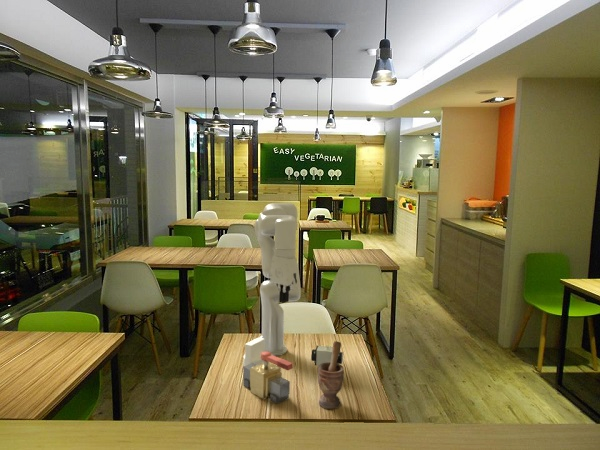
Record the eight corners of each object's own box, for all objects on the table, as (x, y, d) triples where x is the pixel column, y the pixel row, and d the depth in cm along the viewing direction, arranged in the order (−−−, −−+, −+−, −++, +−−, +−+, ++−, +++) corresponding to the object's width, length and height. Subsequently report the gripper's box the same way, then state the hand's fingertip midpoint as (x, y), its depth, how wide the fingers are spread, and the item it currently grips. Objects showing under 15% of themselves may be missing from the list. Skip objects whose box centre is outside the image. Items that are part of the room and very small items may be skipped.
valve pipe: (239, 385, 166) (239, 353, 165) (256, 378, 172) (256, 347, 170) (275, 406, 152) (276, 371, 150) (292, 398, 158) (293, 364, 156)
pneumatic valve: (341, 380, 172) (342, 349, 170) (310, 376, 174) (311, 346, 173) (342, 373, 177) (343, 344, 176) (313, 370, 180) (313, 341, 178)
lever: (258, 358, 160) (258, 353, 160) (266, 355, 163) (266, 350, 163) (286, 371, 151) (286, 365, 151) (293, 367, 153) (293, 362, 153)
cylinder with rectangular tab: (256, 377, 173) (257, 347, 171) (238, 371, 177) (238, 342, 176) (270, 369, 180) (271, 340, 179) (252, 363, 185) (253, 335, 183)
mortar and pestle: (317, 392, 162) (318, 338, 159) (341, 393, 162) (343, 339, 159) (317, 409, 150) (318, 352, 148) (343, 410, 150) (345, 353, 148)
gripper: (263, 250, 165) (262, 299, 168) (292, 257, 155) (291, 309, 158) (277, 248, 171) (277, 295, 173) (307, 254, 161) (306, 304, 163)
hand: (284, 301), depth 166 cm, fingers closed
